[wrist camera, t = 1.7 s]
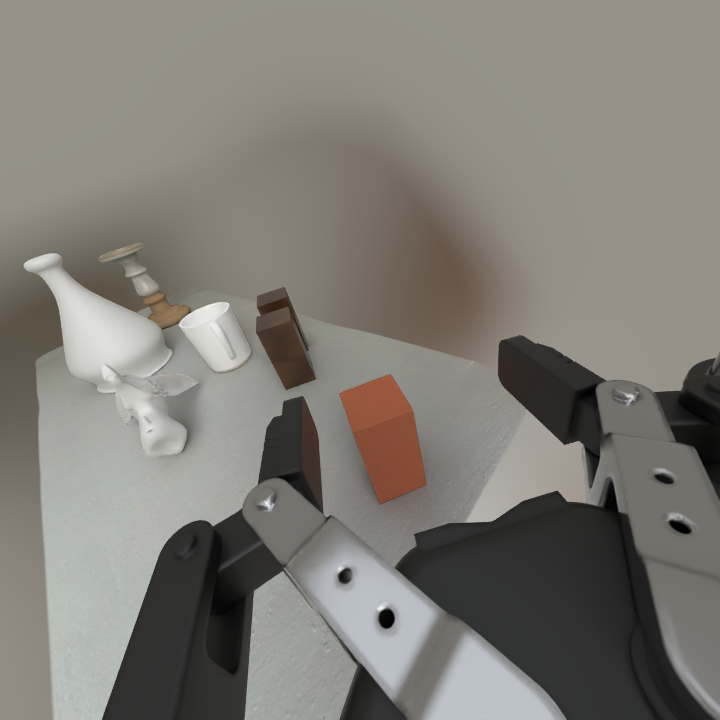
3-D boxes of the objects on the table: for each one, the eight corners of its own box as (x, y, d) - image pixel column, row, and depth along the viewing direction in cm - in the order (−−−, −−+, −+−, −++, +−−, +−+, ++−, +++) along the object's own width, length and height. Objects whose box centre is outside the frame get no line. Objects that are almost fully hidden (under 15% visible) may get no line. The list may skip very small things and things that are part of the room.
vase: (107, 406, 55) (-25, 281, 41) (82, 384, 65) (-31, 277, 51) (190, 352, 65) (107, 236, 51) (157, 340, 75) (81, 240, 61)
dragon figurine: (54, 453, 28) (35, 363, 34) (158, 493, 43) (131, 425, 49) (180, 385, 33) (143, 316, 39) (234, 443, 47) (202, 386, 53)
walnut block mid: (311, 362, 51) (288, 306, 45) (315, 379, 47) (290, 319, 41) (284, 372, 51) (256, 316, 44) (285, 390, 47) (255, 332, 40)
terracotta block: (406, 446, 34) (390, 373, 27) (426, 485, 29) (413, 409, 23) (365, 463, 33) (338, 392, 27) (380, 504, 29) (352, 433, 23)
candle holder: (147, 322, 88) (96, 255, 76) (188, 305, 92) (146, 238, 80) (146, 336, 79) (89, 263, 67) (192, 316, 83) (146, 244, 71)
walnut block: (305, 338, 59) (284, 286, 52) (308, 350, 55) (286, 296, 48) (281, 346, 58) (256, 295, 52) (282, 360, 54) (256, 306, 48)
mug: (205, 363, 60) (174, 319, 54) (245, 341, 63) (221, 298, 57) (220, 386, 52) (187, 337, 46) (265, 359, 56) (239, 311, 50)
